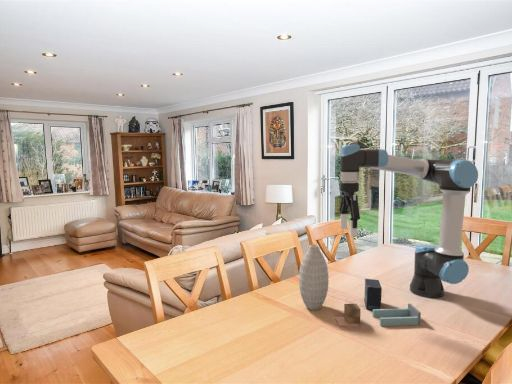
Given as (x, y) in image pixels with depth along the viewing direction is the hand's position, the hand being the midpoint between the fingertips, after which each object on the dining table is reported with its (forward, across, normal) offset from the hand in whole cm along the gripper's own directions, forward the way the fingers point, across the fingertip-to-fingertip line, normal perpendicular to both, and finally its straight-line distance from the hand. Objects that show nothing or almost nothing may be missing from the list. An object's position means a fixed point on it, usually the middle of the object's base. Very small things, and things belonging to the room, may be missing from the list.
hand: (348, 232), depth 149 cm
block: (+34, +10, -1) cm, 36 cm away
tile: (+35, +10, -4) cm, 36 cm away
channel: (+35, +10, +16) cm, 40 cm away
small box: (+35, -5, +13) cm, 38 cm away
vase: (+35, -4, -14) cm, 38 cm away
